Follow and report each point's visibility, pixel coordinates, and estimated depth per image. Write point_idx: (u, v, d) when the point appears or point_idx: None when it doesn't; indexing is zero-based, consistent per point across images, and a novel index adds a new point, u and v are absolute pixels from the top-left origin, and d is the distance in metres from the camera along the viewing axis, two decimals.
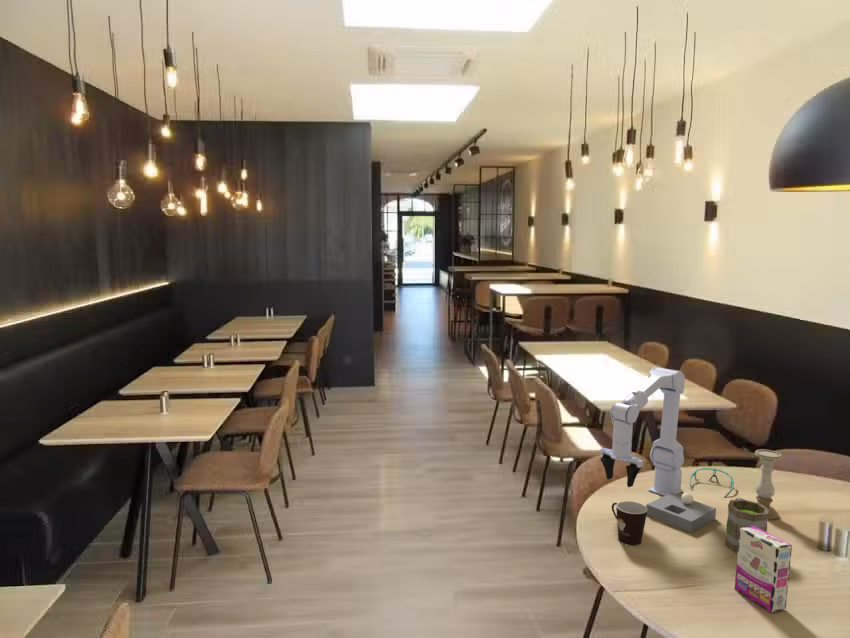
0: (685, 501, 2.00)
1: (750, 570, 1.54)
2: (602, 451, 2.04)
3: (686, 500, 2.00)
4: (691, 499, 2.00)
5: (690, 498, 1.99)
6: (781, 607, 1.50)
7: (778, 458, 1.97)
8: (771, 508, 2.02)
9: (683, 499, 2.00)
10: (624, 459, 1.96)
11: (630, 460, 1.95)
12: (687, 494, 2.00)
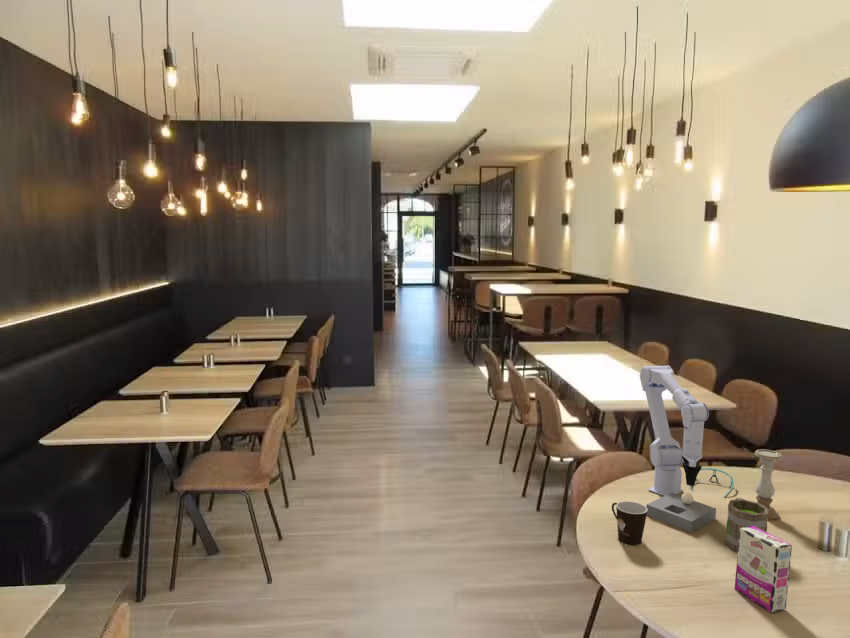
0: (685, 501, 2.00)
1: (750, 570, 1.54)
2: None
3: (686, 500, 2.00)
4: (691, 499, 2.00)
5: (690, 498, 1.99)
6: (781, 607, 1.50)
7: (778, 458, 1.97)
8: (771, 508, 2.02)
9: (683, 499, 2.00)
10: (684, 456, 2.01)
11: (686, 458, 2.00)
12: (687, 494, 2.00)
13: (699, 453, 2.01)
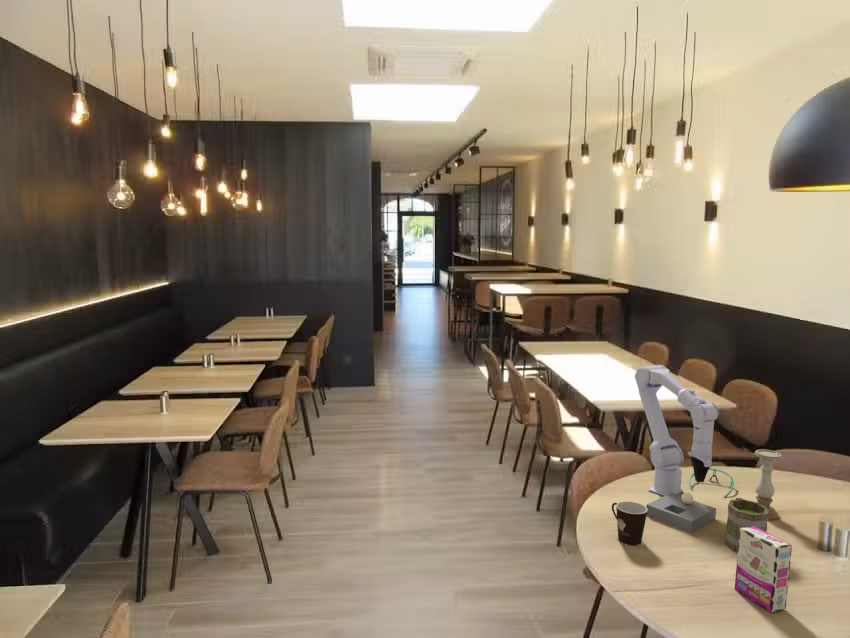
0: (685, 501, 2.00)
1: (750, 570, 1.54)
2: None
3: (686, 500, 2.00)
4: (691, 499, 2.00)
5: (690, 498, 1.99)
6: (781, 607, 1.50)
7: (778, 458, 1.97)
8: (771, 508, 2.02)
9: (683, 499, 2.00)
10: (696, 456, 2.01)
11: (700, 458, 2.00)
12: (687, 494, 2.00)
13: (710, 452, 2.01)
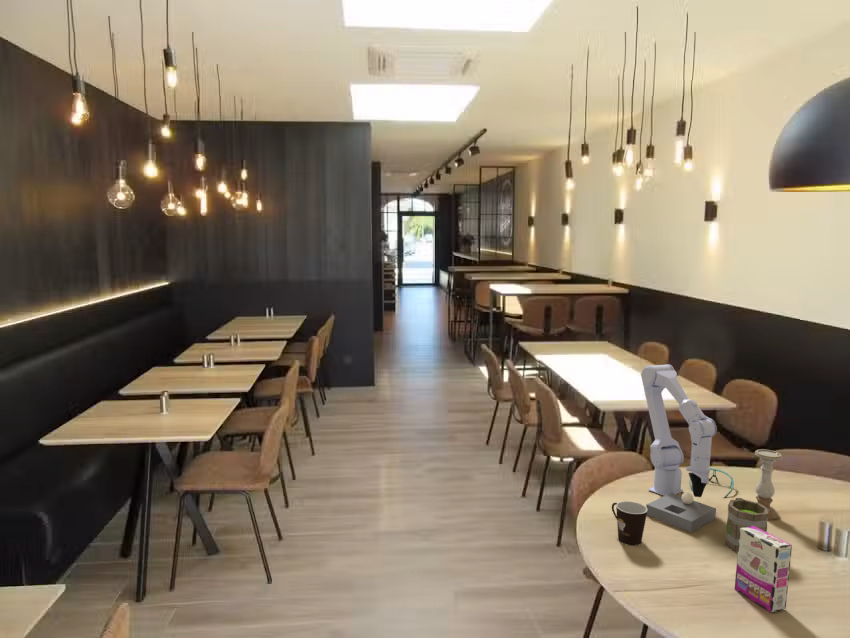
0: (685, 501, 2.00)
1: (750, 570, 1.54)
2: None
3: (686, 500, 2.00)
4: (691, 499, 2.00)
5: (690, 498, 1.99)
6: (781, 607, 1.50)
7: (778, 458, 1.97)
8: (771, 508, 2.02)
9: (683, 499, 2.00)
10: (694, 472, 2.02)
11: (697, 474, 2.00)
12: (687, 494, 2.00)
13: (708, 468, 2.02)
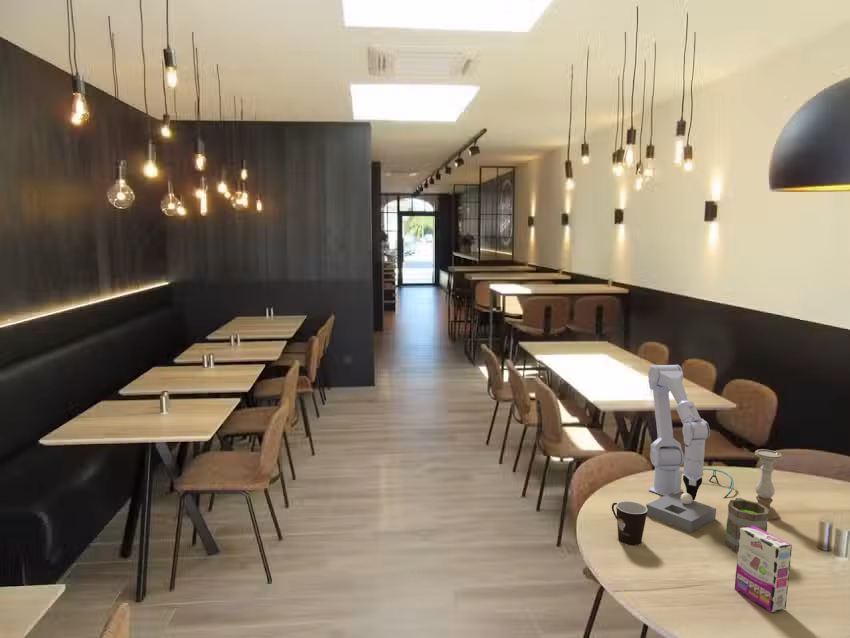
0: (684, 502, 2.00)
1: (750, 570, 1.54)
2: None
3: (686, 501, 1.99)
4: (690, 500, 1.99)
5: (689, 499, 1.99)
6: (781, 607, 1.50)
7: (778, 458, 1.97)
8: (771, 508, 2.02)
9: (682, 500, 2.00)
10: (685, 474, 2.00)
11: (687, 476, 1.98)
12: (686, 495, 2.00)
13: (700, 471, 1.99)
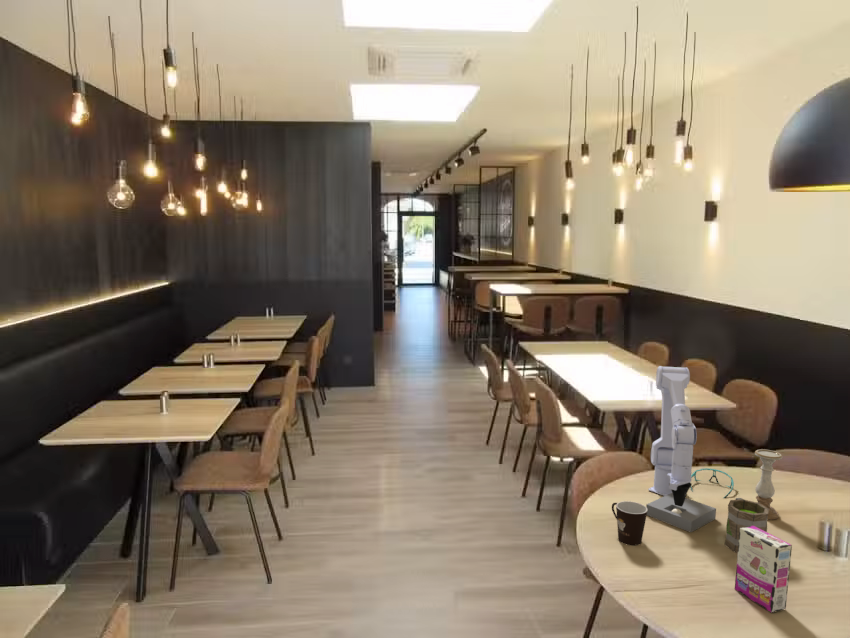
0: (680, 512, 1.96)
1: (750, 570, 1.54)
2: None
3: (680, 511, 1.96)
4: None
5: None
6: (781, 607, 1.50)
7: (778, 458, 1.97)
8: (771, 508, 2.02)
9: (678, 513, 1.96)
10: (670, 478, 1.96)
11: (670, 480, 1.95)
12: (673, 510, 1.97)
13: (686, 477, 1.94)
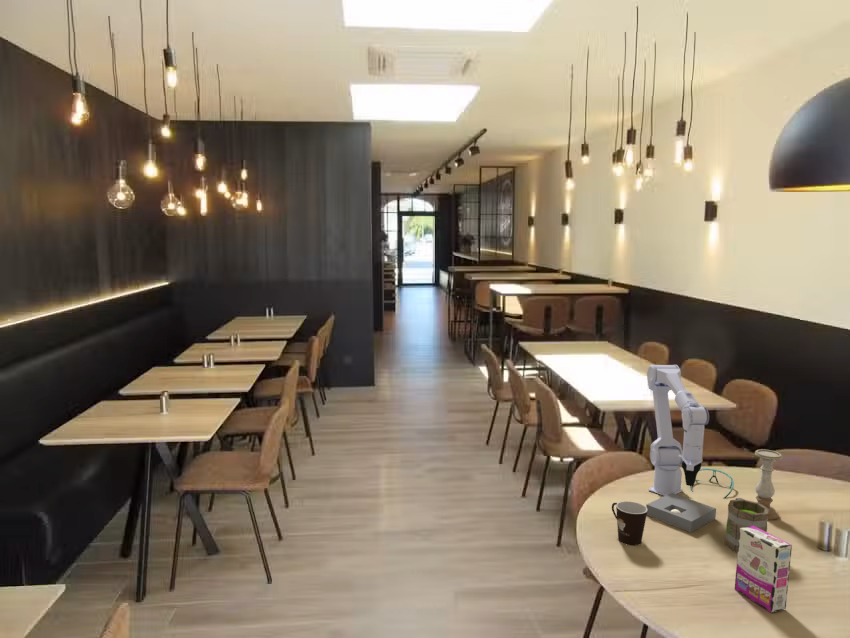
0: None
1: (750, 570, 1.54)
2: None
3: (677, 512, 1.96)
4: (675, 509, 1.97)
5: (674, 509, 1.97)
6: (781, 607, 1.50)
7: (778, 458, 1.97)
8: (771, 508, 2.02)
9: None
10: (683, 459, 1.99)
11: (685, 461, 1.97)
12: None
13: (699, 457, 1.97)
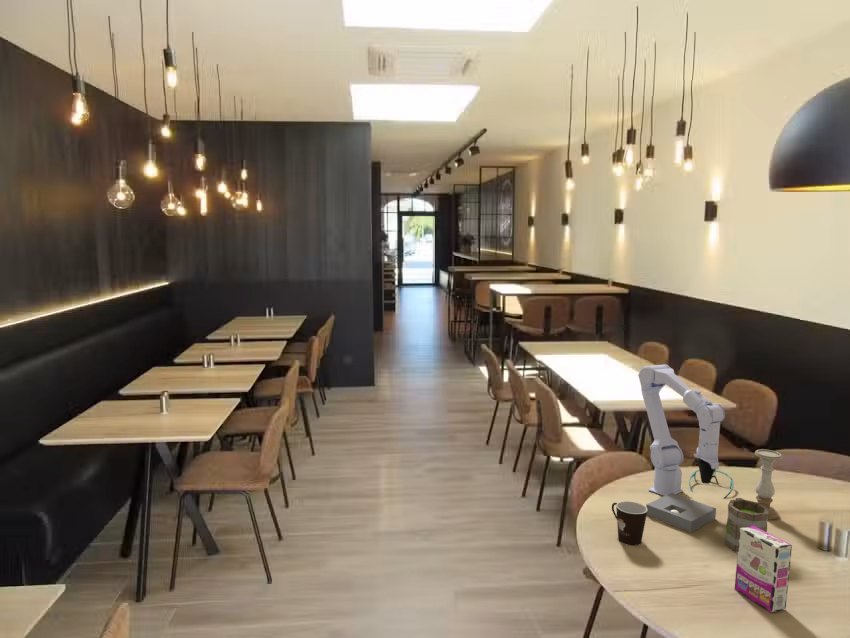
0: None
1: (750, 570, 1.54)
2: (697, 450, 2.09)
3: None
4: (673, 510, 1.96)
5: (672, 510, 1.96)
6: (781, 607, 1.50)
7: (778, 458, 1.97)
8: (771, 508, 2.02)
9: None
10: (703, 458, 2.00)
11: (707, 460, 1.98)
12: None
13: (716, 454, 2.00)
